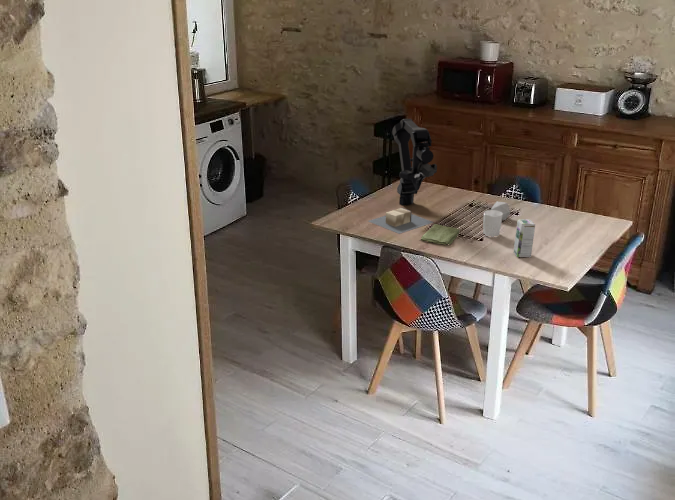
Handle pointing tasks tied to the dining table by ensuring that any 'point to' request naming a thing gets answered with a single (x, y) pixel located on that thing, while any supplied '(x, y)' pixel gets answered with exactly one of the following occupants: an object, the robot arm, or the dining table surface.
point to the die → (502, 209)
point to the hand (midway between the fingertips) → (417, 190)
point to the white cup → (492, 222)
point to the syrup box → (524, 238)
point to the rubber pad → (414, 224)
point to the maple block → (398, 217)
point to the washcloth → (440, 234)
